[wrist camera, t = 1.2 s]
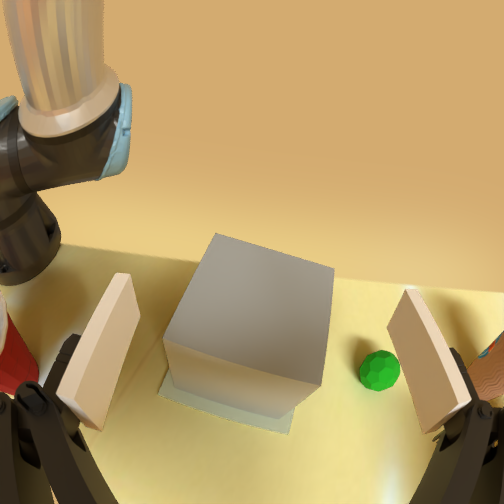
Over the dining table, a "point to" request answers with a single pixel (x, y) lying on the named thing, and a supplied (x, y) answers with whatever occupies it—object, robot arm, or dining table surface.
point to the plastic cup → (13, 355)
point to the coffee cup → (489, 371)
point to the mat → (224, 409)
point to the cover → (251, 328)
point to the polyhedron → (379, 370)
